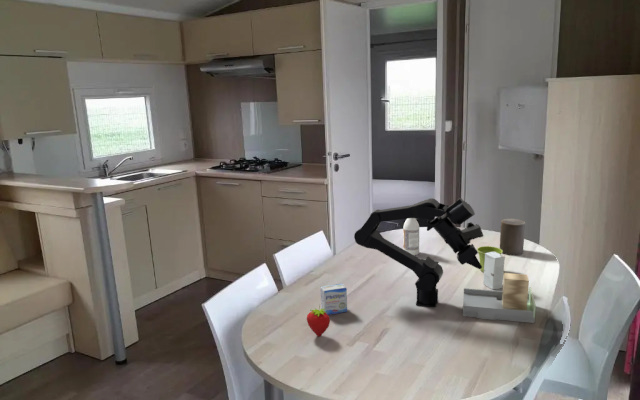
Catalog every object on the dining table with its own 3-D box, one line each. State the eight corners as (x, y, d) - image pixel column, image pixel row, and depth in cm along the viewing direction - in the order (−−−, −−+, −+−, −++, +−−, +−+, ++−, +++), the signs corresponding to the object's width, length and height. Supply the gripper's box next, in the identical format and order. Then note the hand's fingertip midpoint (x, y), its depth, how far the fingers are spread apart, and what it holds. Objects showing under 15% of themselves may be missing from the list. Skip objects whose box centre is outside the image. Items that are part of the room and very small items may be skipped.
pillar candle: (500, 254, 206) (502, 221, 202) (498, 247, 215) (500, 215, 211) (524, 256, 203) (527, 222, 199) (522, 248, 212) (524, 216, 208)
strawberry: (314, 328, 149) (313, 298, 146) (334, 335, 144) (333, 304, 142) (303, 336, 144) (301, 305, 142) (323, 343, 140) (321, 312, 137)
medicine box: (324, 315, 157) (323, 291, 155) (321, 310, 161) (320, 286, 159) (347, 312, 159) (346, 287, 157) (343, 306, 163) (342, 282, 161)
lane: (462, 316, 152) (463, 299, 151) (463, 298, 165) (464, 282, 164) (534, 323, 146) (535, 305, 145) (529, 304, 159) (530, 287, 158)
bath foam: (404, 250, 216) (404, 207, 212) (420, 251, 214) (420, 207, 210) (401, 255, 210) (401, 211, 206) (417, 256, 208) (418, 211, 203)
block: (502, 308, 152) (504, 278, 150) (502, 301, 157) (503, 272, 155) (526, 310, 150) (528, 280, 148) (525, 303, 155) (527, 274, 153)
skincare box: (482, 283, 177) (483, 252, 174) (492, 282, 178) (494, 251, 175) (492, 290, 171) (494, 258, 168) (503, 288, 172) (505, 256, 169)
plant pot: (497, 266, 193) (498, 245, 191) (504, 275, 184) (505, 253, 182) (474, 266, 194) (474, 246, 192) (479, 275, 184) (480, 254, 183)
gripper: (473, 222, 144) (507, 260, 144) (464, 210, 162) (495, 245, 162) (444, 245, 146) (478, 283, 147) (439, 231, 165) (469, 265, 165)
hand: (480, 268), depth 155 cm, fingers closed
